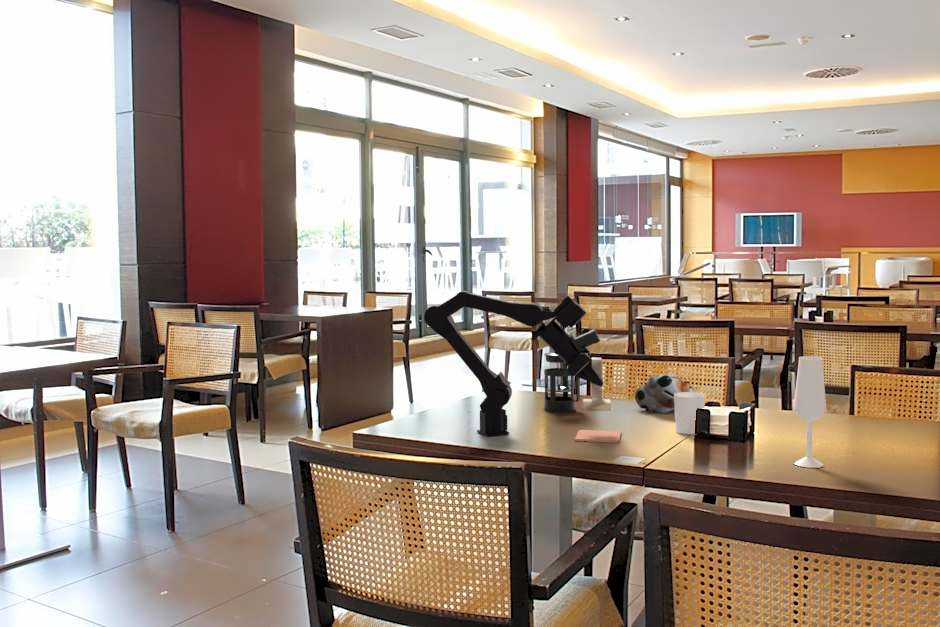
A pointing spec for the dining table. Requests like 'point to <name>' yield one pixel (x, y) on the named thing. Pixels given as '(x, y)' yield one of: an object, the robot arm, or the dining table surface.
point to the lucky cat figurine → (660, 393)
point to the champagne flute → (809, 400)
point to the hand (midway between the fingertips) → (602, 383)
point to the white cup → (687, 410)
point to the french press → (559, 387)
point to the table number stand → (597, 391)
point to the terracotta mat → (598, 436)
